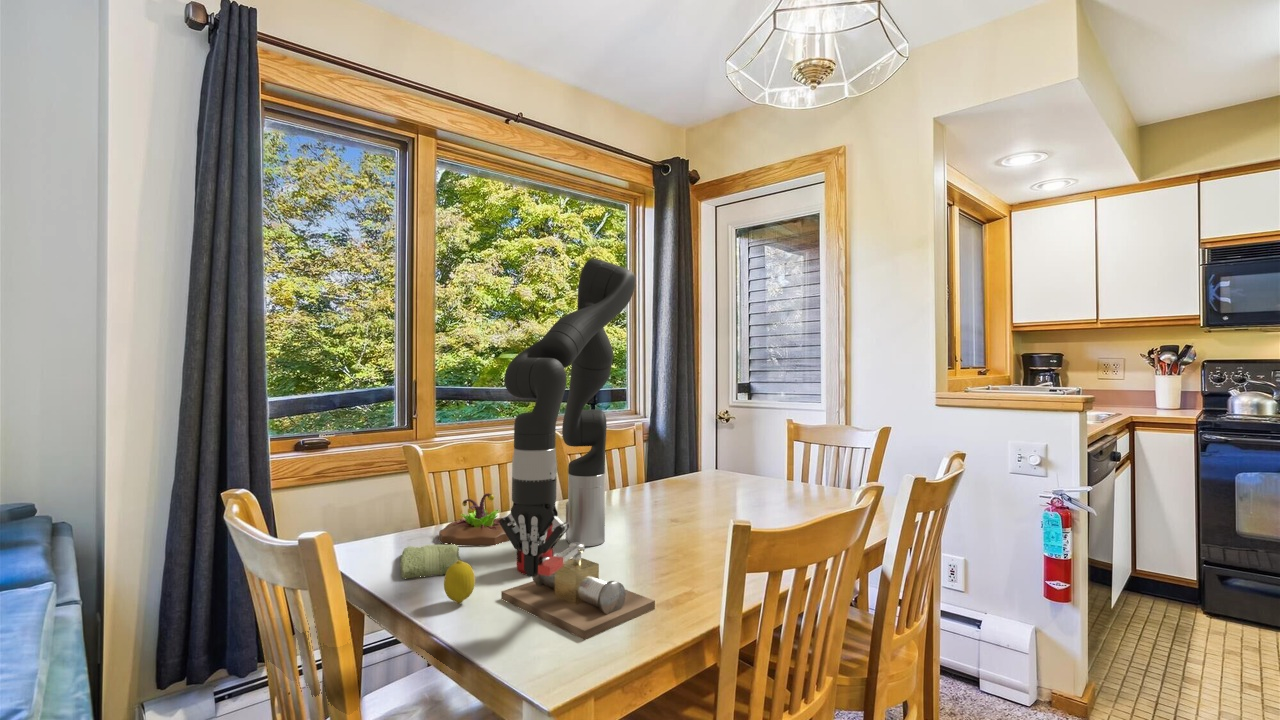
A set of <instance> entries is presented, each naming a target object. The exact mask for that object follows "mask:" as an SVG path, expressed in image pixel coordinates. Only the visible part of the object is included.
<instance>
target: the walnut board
mask: <svg viewBox="0 0 1280 720" xmlns="http://www.w3.org/2000/svg"><path fill="white" fill-rule="evenodd" d="M500 592H501V595H500V596H501V597H500V599H501V600H502V599H503V600H502V601H504V600H505V601H504V602H506V601H507V602H506V603H508V604H510V605H513V606H514V607H515V608H516V607H517V608H518V607H519V608H518V609H520V608H521V610H522V609H523V610H522V611H524V610H525V611H524V612H526V611H527V612H526V613H528V612H529V614H530V613H531V615H532V614H533V615H532V616H534V615H535V617H536V616H537V618H539V619H541V620H543V621H545V622H547V623H548V624H550V625H552V626H555V627H556V628H559V629H561V630H563V631H566V632H567V633H569V634H571V635H573V636H575V637H577V638H580V639H581V640H584V641H586V640H589V639H590V638H592V637H596V636H597V635H599V634H601V633H604V632H606V631H608V630H610V629H613V628H615V627H618V626H619V625H622V624H624V623H627V622H629V621H631V620H633V619H635V618H638V617H640V616H642V615H645V614H647V613H649V612H651V611H653V610H655V609H656V601H655V599H652V598H649V597H646V596H643V595H641V594H638V593H636V592H632V591H630V590H628V589H625V592H626V597H625V602H624V605H623V607H622V608H621V609H619V610H617V611H615V612H612V613H610V614H604V613H602V612H601V611H600V609H599V607H597V606H595V605H592V604H590V603H588V602H585V601H584V602H582V603H579V604H577V605H575V604H573V603H570V602H568V601H566V600H563V599H561V598H559V597H556V596H555V589H554V588H552V587H550V586H547V585H542V586H539V585H537V584H535V583H534V581H533V580H532V581H529V582H526V583H522V584H521V585H517V586H514V587H511V588H508V589H504V590H501V591H500Z"/></svg>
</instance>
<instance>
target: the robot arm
mask: <svg viewBox="0 0 1280 720" xmlns="http://www.w3.org/2000/svg"><path fill="white" fill-rule="evenodd" d="M577 287H578V288H577V310H574V311H572V312H568V313H567V314H565V315H563V316H562V317H561V318H559V319H558V320H557V321H555V323H554V324H553V325H552V326H551V328H549V330H548V331H547V332H546V333H545V334H544V336H543V337H542V338H541V339H540V340H538V341H537V342H535V343H533V344H531V345H530V346H528V347H527V348H525V349H524V350H523V351H521V352H519V353H518V354H517V355H516V356H515V357H514V358H513V359H512V360H511V361H510V362H509V364H508V366H507V367H506V369H505V372H504V373H505V374H504V379H503V380H504V386H505V388H506V391H508V393H509V394H510V395H512V396H513V397H516V398H519V399H520V398H521V399H531V400H532V399H536V401H535V404H534V407H533V409H532V411H528V412H523V413H520V414H518V415H517V416H516V417H515V418H514V419H515V420H514V424H513V456H512V463H511V501H512V506H511V508H510V513H509V514H508V515H506V516H504V517H501V518H502V519H500V521H499V523H500V525H501V527H502V528H503V530H504V532H505V533H506V535H507V537H508V538H509V540H510V541H509V542H510V543H511V544H512V546H513V548H514V549H515V550H517V549H520V550H521V551H523V553H524V571H525V572H526V574H525V575H526V576H527V577H531V578H532V577H536V576H537V575H539V574H538V565H539V564H541V563H542V562H543V553H546V552H547V551H549V550H551V549H553V548H555V546H556V545H557V544H558V542H559V541H560V540H561V539H562V538H563V536H564V535H565V541H567V542H568V544H570V543H573V542H582V543H584V547H594V546H598V545H602V544H604V543H605V539H606V537H605V536H606V534H605V531H606V530H605V528H606V527H605V526H606V525H605V524H606V519H605V518H606V517H605V516H606V513H605V512H606V510H605V509H606V482H605V481H606V479H605V478H606V444H607V443H606V442H607V426H608V425H607V417H606V414H605V412H604V410H601V409H584V408H585V406H586V405H587V404H588V402H589V401H590V400H591V399H592V398H593V397H594V396H595V395H597V393H598V392H599V391H601V390H602V388H603V387H604V386H605V385H606V383H608V380H609V378H610V376H611V371H612V366H613V361H614V350H613V346H612V344H611V342H610V339H609V336H608V334H607V332H606V330H605V327H607V325H608V324H609V323H611V321H613V320H614V319H615V318H616V317H617V316H618V315H620V314H621V313H622V311H624V309H625V308H626V307H627V306H628V305H629V303H630V301H631V299H632V297H633V295H634V292H635V287H636V276H635V274H634V272H633V271H632V270H630V269H628V268H625V267H623V266H620V265H617V264H614V263H611V262H609V261H606V260H602V259H598V258H590V259H588V260H587V261H585V264H584V265H583V267H582V269H581V271H580V276H579V280H578V286H577ZM568 367H570V368H571V369H570V378H569V379H570V380H569V390H568V395H567V400H566V401H567V402H566V404H565V410H564V415H563V419H562V429H561V432H562V433H561V434H562V440H563V442H564V444H565V445H566V446H568V447H573V448H574V447H590V450H589V451H588V452H587V453H585V454H584V455H582V456H580V457H578V458H575V459H573V460H571V461H570V462H569V463H568V467H567V470H568V471H567V473H568V474H567V476H568V477H567V478H568V479H567V481H568V482H567V483H568V484H567V485H568V489H567V490H568V492H567V493H568V494H567V495H568V498H567V499H568V500H567V502H566V503H565V522H563V521H562V520H561V519H560V517H558V514H559V513H558V509H557V506H556V502H557V476H558V475H557V474H558V469H557V468H558V467H557V465H558V462H557V461H558V460H557V451H556V438H557V437H556V433H557V432H556V429H557V428H556V426H557V425H556V424H557V421H558V417H559V412H560V409H561V406H562V405H561V404H562V402H563V398H564V395H565V391H566V388H567V380H568V379H567V373H566V368H568ZM552 524H553V526H552V532H553V533H552V534H551V535H550V536H549V538H548V539H547V540H546V542H545V539H546V537H547V531H548V529H549V528H550V527H551V525H552Z"/></svg>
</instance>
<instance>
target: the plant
mask: <svg viewBox="0 0 1280 720" xmlns="http://www.w3.org/2000/svg"><path fill="white" fill-rule="evenodd" d="M486 497H487V498H488V500H489V501H494V499H495V496H494V494H492V493H488V492H487V493H485V494H483V496H482V498H481V500H480V503H479V505H478V503H477V502H476V501H475V500H473V499H472V498H467V499H464V500H463V501H462V506H463V507H466V506H467V505H468V502H470V503H471V504H472V506H470V507H469V508H468V509H467V513H468V515H467V514H463V513H461V514H460V516H462V517H463V518H464V519H459V520H456V521H452V522H449V524H447V525H446V526H445V527H443V529H442V528H441V529H440V530H439V534H438V536H439V537H438V541H439V540H440V541H441V542H442V543H452V544H455V545H494V546H497V545H500V544H502V542H503V543H506V542H510V540H509V538H508V537H507V535H506V533H505V532H504V530H503V528H502V527H501V525H500V523H499V521H500V519H502V518H503V517H498V515H497V514H498V513H499V511H500V510H499V509H496V510H493V511H492V512H490V513H488V510H487V509H486V508H485V507H484V506H485V500H486ZM440 541H439V542H440ZM441 542H440V543H441ZM442 543H441V544H442ZM499 543H500V544H499ZM496 544H497V545H496Z"/></svg>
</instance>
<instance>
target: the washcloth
mask: <svg viewBox="0 0 1280 720" xmlns="http://www.w3.org/2000/svg"><path fill="white" fill-rule="evenodd" d="M399 559H400V566H399V569H400V573H401V579H402V578H403V580H406V579H405V578H411V579H414V578H413V577H420V576H421V577H423V578H425V577H424V576H427V577H432V576H431V575H435V576H444V575H443V574H446V572H447V570H448V568H449V567H450V566H451V565H453V564H454V563H456V562H457V561H459V560H461V558H460V547H459V546H457V545H454V544H428V545H423V546H421V547H420V546H419V547H415V546H407V547H405V548H404V549H403V551H402V554H400V557H399ZM421 577H420V578H421Z"/></svg>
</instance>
